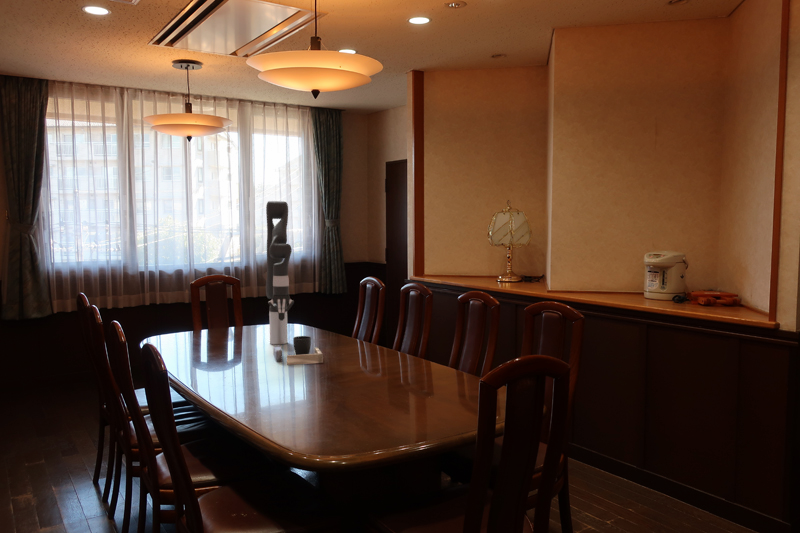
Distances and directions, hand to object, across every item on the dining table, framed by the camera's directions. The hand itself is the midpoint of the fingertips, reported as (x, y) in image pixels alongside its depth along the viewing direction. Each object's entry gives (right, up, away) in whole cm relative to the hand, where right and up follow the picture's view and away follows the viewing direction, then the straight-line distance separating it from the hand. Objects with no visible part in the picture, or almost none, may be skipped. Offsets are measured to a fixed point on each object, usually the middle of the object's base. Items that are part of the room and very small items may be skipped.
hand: (281, 320), depth 290 cm
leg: (0, -17, -7) cm, 18 cm away
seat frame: (+13, -17, -12) cm, 25 cm away
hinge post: (+2, -18, -15) cm, 23 cm away
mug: (+10, -17, -5) cm, 21 cm away
